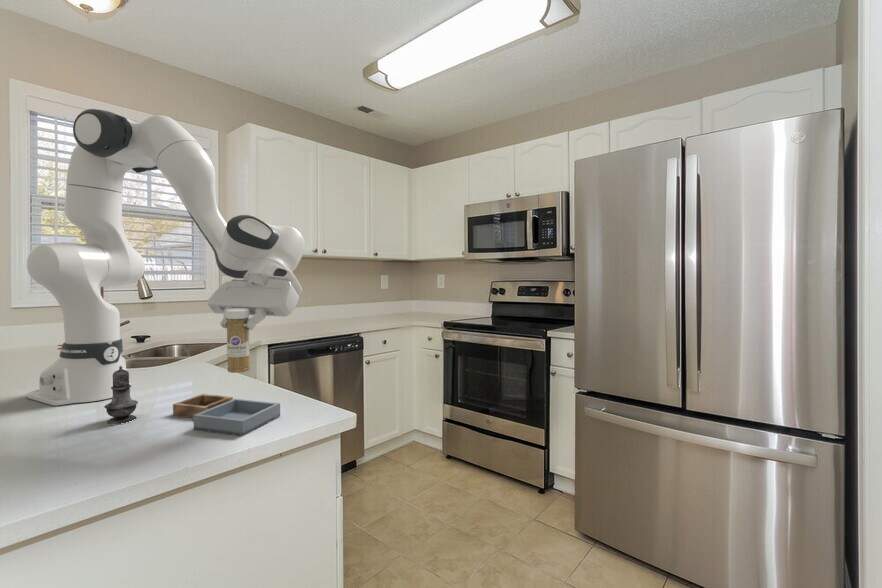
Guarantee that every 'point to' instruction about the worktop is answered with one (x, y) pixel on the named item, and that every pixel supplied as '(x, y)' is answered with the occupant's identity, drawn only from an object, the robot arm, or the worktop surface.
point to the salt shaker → (121, 399)
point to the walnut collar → (198, 404)
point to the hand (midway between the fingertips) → (235, 327)
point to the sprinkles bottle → (237, 340)
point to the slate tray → (236, 416)
